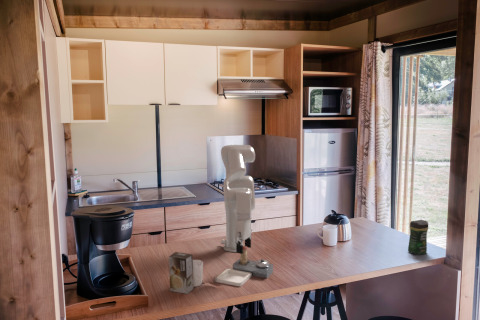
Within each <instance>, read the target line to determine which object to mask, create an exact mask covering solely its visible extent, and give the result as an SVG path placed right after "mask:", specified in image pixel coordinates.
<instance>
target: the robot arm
mask: <svg viewBox="0 0 480 320" xmlns="http://www.w3.org/2000/svg"><path fill="white" fill-rule="evenodd" d="M220 155H221V157H220V158H221V160H222V163H223V165H224V168H225V178H224V181H223V185H222V186H223V187H222V188H223V196H224V197H223V198H224V201H223V203H224V209H225V229H226V230H225V236H226V237H225V238H226V239H220V244H221V245H223V250H224V251H225V252H230V253H237V254H239V255H240V254H242V253H243V246H247V249H249V248H250V249H251V248H252V231H253V229H252V211H254V210H255V207H256V195H255V193H256V192H255V181H254V178H253V177H252V176H251V175H246V174H247V166H246V163H247V164H248V163H254V162H255V160H256V152H255V149H254V147H253V146H251V145H250V144H230V145H229V144H228V145H227V144H226V145H223V146H222V147H221V150H220ZM243 243H244V244H243Z"/></svg>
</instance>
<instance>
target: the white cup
mask: <svg viewBox="0 0 480 320" xmlns="http://www.w3.org/2000/svg"><path fill="white" fill-rule="evenodd" d="M203 271H204V261H203V260H200V259H193V288H194V287H199V286H201V285H202V284H203V274H204V272H203Z"/></svg>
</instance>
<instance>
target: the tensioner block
mask: <svg viewBox="0 0 480 320" xmlns="http://www.w3.org/2000/svg"><path fill="white" fill-rule="evenodd" d="M232 269H234V270H239V271H244V272H250V273H252V276H251V277H258V278H263V279H268V278H269V277H270V276H271V275H272V274H273V273H274V264H272V263H269V260H267V259H263V258H261V259H258V260H251V259H247V264H246V265H244V264H240V258H238V259H237V260H236V261H235V262H234V263H232Z"/></svg>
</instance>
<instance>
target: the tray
mask: <svg viewBox="0 0 480 320" xmlns="http://www.w3.org/2000/svg"><path fill="white" fill-rule="evenodd" d="M252 277H253V276H252V273H250V272H244V271H239V270H234V269H233V268H226V269H225V270H224V271H222V272H221V273H220V274H219V275H218V276H216V277H215V278H214V282H216V283H219V284H220V283H221V284H225V285H228V286H229V285H230V286H231V285H232V286H236V287H240V288H241V287H242V286H243V285H244V284H245V283H246V282H247V281H248V280H249V279H251V278H252Z"/></svg>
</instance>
